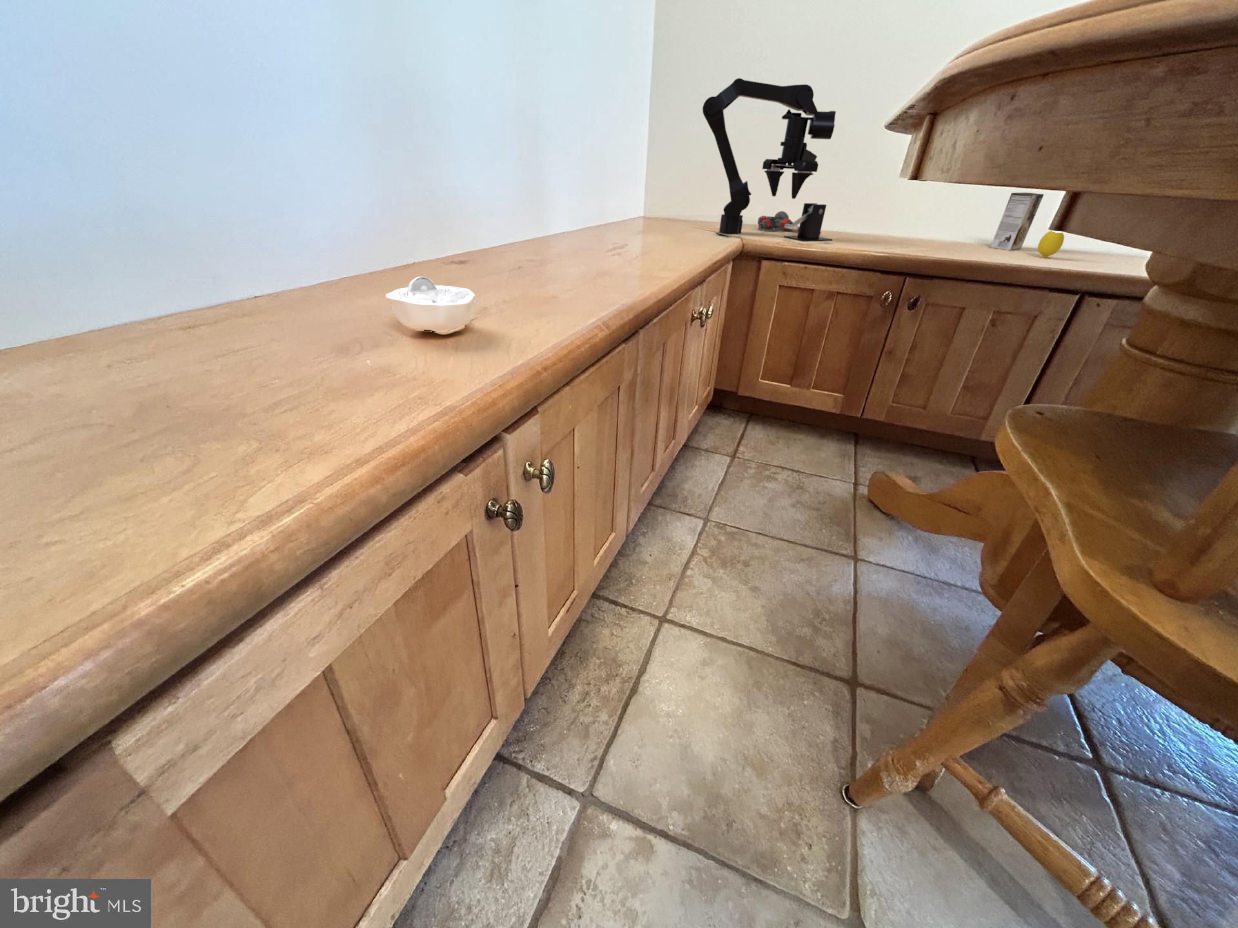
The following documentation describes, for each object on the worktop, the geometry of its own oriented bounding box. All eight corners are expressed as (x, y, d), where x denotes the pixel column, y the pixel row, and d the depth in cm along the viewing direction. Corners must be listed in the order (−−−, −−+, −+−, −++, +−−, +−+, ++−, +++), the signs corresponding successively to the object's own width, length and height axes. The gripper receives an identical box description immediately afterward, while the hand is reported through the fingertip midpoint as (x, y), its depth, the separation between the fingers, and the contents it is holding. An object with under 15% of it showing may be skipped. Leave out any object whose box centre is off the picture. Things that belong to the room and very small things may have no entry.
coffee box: (1000, 246, 170) (1022, 192, 162) (1021, 248, 166) (1045, 193, 157) (988, 247, 165) (1010, 192, 157) (1010, 250, 161) (1034, 193, 152)
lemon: (1037, 258, 147) (1050, 229, 143) (1029, 255, 152) (1042, 227, 148) (1058, 260, 146) (1073, 230, 142) (1050, 257, 151) (1063, 228, 147)
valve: (739, 235, 182) (767, 227, 188) (798, 249, 165) (826, 240, 171) (741, 216, 178) (769, 208, 184) (801, 229, 161) (830, 220, 167)
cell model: (428, 351, 60) (418, 293, 57) (379, 329, 67) (368, 276, 63) (496, 334, 67) (491, 281, 63) (446, 315, 74) (439, 267, 70)
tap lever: (796, 232, 154) (794, 225, 152) (785, 230, 157) (783, 223, 156) (823, 212, 154) (822, 205, 153) (812, 210, 158) (811, 203, 156)
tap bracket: (802, 244, 154) (810, 205, 149) (783, 240, 161) (790, 202, 155) (831, 243, 159) (840, 205, 153) (811, 239, 166) (819, 202, 160)
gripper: (838, 139, 144) (824, 200, 152) (794, 140, 158) (783, 195, 166) (808, 137, 140) (796, 200, 148) (766, 138, 154) (756, 195, 162)
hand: (783, 197), depth 156 cm, fingers open, 9 cm apart
